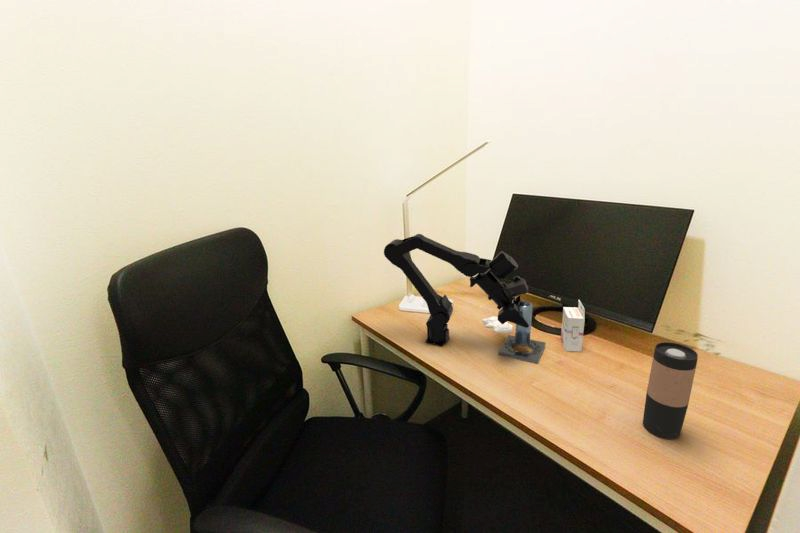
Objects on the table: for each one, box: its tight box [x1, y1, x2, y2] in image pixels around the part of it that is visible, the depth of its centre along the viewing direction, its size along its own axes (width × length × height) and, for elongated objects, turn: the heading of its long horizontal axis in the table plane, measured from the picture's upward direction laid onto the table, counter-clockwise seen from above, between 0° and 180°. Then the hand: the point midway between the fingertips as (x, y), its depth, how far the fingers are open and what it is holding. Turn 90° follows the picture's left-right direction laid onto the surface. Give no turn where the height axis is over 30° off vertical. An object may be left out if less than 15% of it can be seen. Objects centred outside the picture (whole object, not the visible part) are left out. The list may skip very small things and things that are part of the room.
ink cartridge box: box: [560, 299, 586, 353], centre depth 121 cm, size 9×5×15 cm, turn 168°
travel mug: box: [642, 341, 699, 440], centre depth 83 cm, size 8×8×20 cm
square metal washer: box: [497, 334, 546, 365], centre depth 121 cm, size 12×12×1 cm
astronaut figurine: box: [481, 316, 514, 334], centre depth 138 cm, size 9×12×3 cm
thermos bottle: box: [514, 299, 534, 346], centre depth 118 cm, size 5×5×14 cm
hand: (527, 323), depth 118 cm, fingers closed on thermos bottle, 5 cm apart
